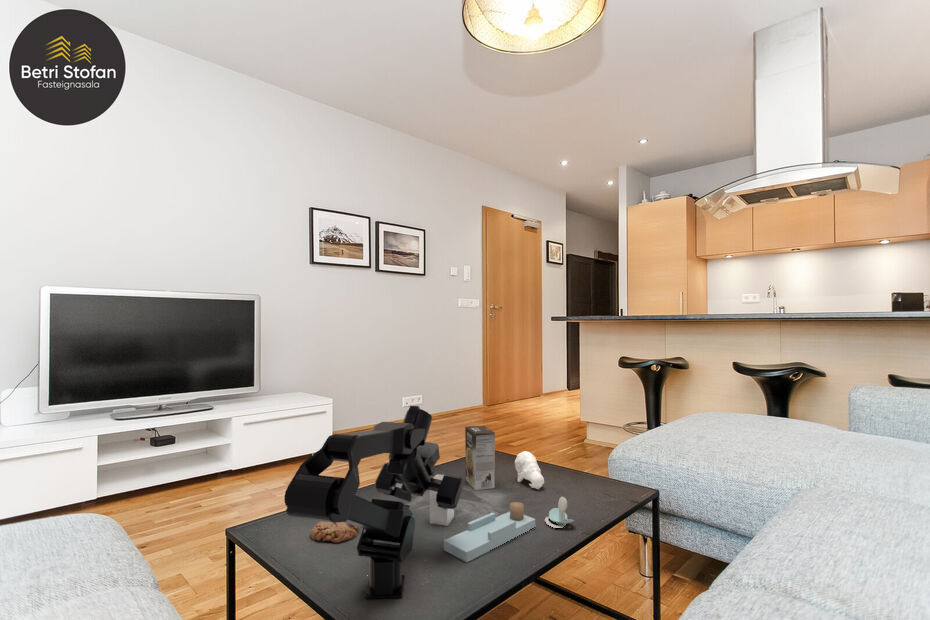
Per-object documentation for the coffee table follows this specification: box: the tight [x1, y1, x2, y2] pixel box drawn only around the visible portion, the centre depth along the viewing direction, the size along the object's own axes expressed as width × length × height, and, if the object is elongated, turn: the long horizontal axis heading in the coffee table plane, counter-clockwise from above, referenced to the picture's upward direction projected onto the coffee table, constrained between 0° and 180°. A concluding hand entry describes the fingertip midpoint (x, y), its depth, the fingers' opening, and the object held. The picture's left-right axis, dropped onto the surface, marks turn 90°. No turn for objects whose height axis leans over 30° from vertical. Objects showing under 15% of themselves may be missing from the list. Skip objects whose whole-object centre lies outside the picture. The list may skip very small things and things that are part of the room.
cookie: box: [310, 521, 360, 543], centre depth 105 cm, size 10×11×3 cm
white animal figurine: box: [514, 450, 545, 490], centre depth 136 cm, size 6×8×12 cm
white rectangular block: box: [429, 473, 455, 527], centre depth 112 cm, size 6×4×10 cm
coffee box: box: [464, 425, 496, 491], centre depth 136 cm, size 9×6×16 cm
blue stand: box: [443, 501, 536, 563], centre depth 102 cm, size 22×7×5 cm, turn 134°
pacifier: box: [544, 496, 575, 529], centre depth 110 cm, size 7×6×6 cm
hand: (428, 503), depth 104 cm, fingers open, 9 cm apart
